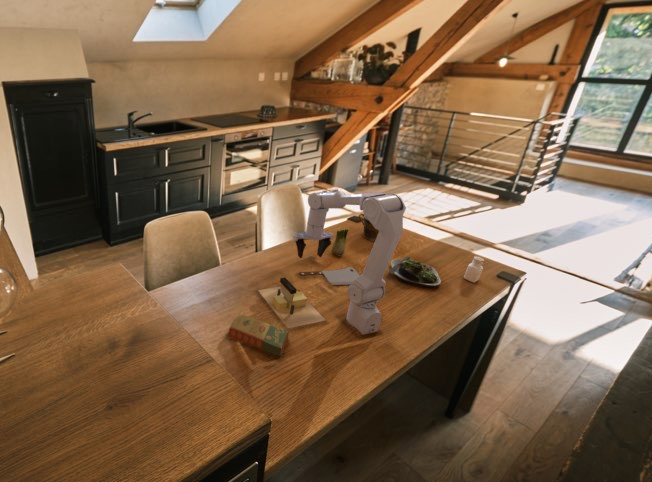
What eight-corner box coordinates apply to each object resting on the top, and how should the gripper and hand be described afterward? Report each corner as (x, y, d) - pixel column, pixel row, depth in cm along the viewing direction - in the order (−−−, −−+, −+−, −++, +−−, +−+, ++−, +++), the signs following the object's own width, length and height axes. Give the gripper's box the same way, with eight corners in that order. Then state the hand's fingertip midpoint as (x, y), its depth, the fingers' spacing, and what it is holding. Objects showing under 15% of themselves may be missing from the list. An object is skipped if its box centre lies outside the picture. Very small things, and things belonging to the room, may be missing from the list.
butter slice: (286, 309, 127) (287, 302, 126) (278, 311, 127) (279, 303, 125) (279, 302, 131) (281, 294, 130) (272, 303, 130) (273, 296, 129)
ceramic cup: (387, 239, 176) (392, 220, 172) (374, 245, 171) (380, 225, 167) (362, 228, 186) (366, 209, 182) (349, 232, 181) (353, 213, 177)
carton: (237, 322, 123) (239, 311, 121) (287, 341, 116) (289, 330, 114) (227, 338, 116) (229, 327, 114) (280, 359, 109) (282, 348, 107)
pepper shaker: (467, 275, 151) (475, 254, 147) (478, 280, 148) (487, 259, 144) (462, 278, 149) (470, 257, 145) (474, 283, 146) (483, 262, 142)
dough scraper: (294, 303, 125) (296, 289, 123) (289, 304, 125) (291, 290, 123) (282, 290, 131) (285, 277, 129) (278, 291, 131) (280, 277, 129)
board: (325, 322, 123) (328, 311, 122) (287, 330, 120) (289, 319, 118) (291, 286, 141) (293, 276, 139) (257, 292, 137) (258, 282, 135)
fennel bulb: (342, 251, 165) (347, 226, 160) (346, 257, 161) (352, 232, 156) (328, 250, 165) (333, 226, 161) (332, 256, 161) (337, 231, 156)
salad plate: (385, 255, 163) (387, 246, 161) (433, 265, 156) (436, 256, 155) (388, 280, 146) (391, 269, 145) (442, 292, 140) (446, 282, 138)
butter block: (306, 305, 130) (307, 298, 128) (289, 308, 128) (290, 301, 127) (299, 298, 133) (300, 291, 132) (282, 301, 131) (284, 294, 130)
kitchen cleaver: (306, 285, 140) (295, 268, 149) (306, 287, 141) (295, 270, 150) (368, 282, 144) (353, 266, 152) (367, 284, 144) (353, 268, 153)
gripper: (329, 217, 141) (322, 249, 146) (291, 219, 139) (286, 251, 144) (339, 226, 134) (332, 259, 140) (300, 228, 133) (294, 261, 138)
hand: (309, 256), depth 142 cm, fingers open, 7 cm apart
